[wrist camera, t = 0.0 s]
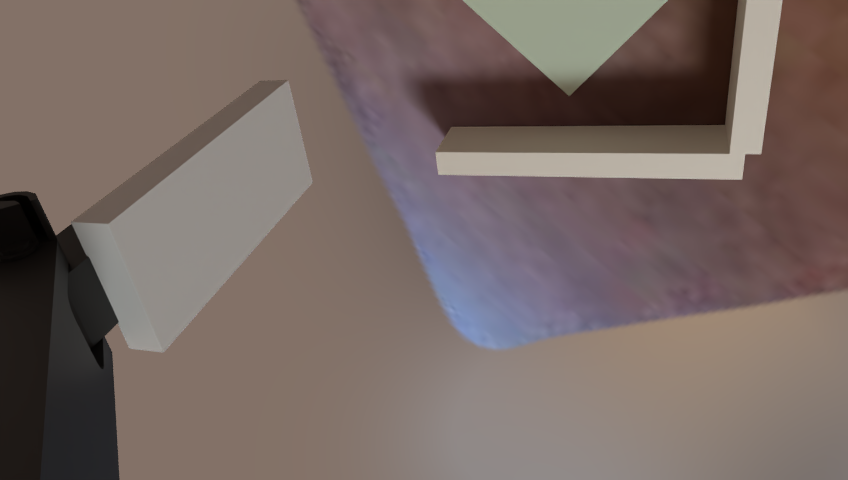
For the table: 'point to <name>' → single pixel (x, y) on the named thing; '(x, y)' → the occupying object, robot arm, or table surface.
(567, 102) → the table surface
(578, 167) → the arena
